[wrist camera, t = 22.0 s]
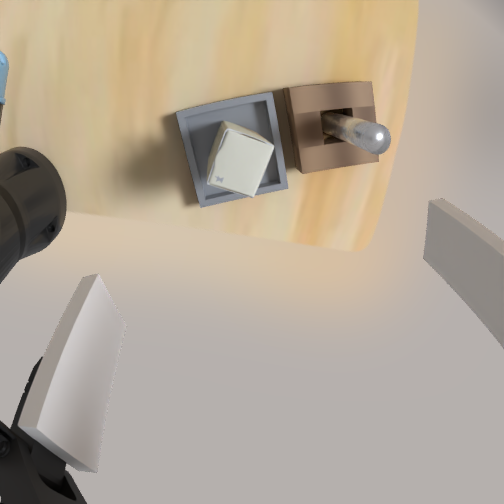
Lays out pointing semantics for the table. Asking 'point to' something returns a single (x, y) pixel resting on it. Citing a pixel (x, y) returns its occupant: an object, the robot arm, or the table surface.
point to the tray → (204, 132)
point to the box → (238, 159)
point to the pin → (357, 132)
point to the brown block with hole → (310, 128)
